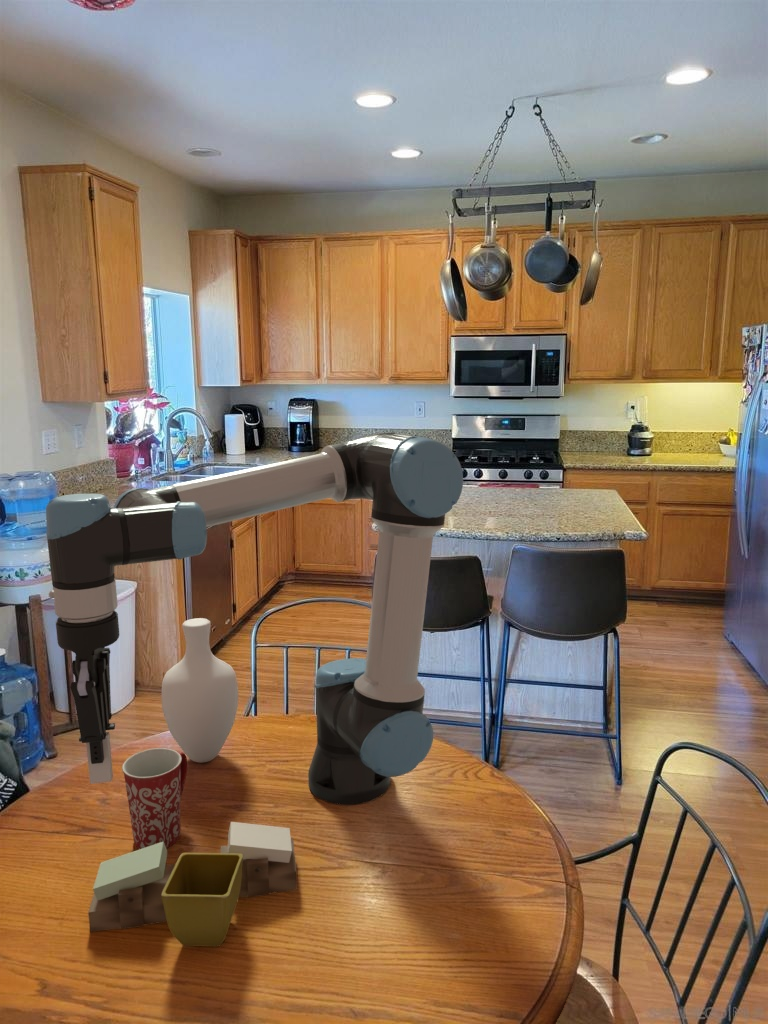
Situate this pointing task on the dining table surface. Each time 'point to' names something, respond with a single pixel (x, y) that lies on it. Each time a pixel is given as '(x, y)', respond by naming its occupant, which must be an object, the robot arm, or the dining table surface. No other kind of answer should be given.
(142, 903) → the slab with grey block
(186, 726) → the vase
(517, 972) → the dining table surface
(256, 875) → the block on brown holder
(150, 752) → the mug
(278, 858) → the block
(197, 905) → the flower pot
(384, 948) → the dining table surface
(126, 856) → the rocker green
